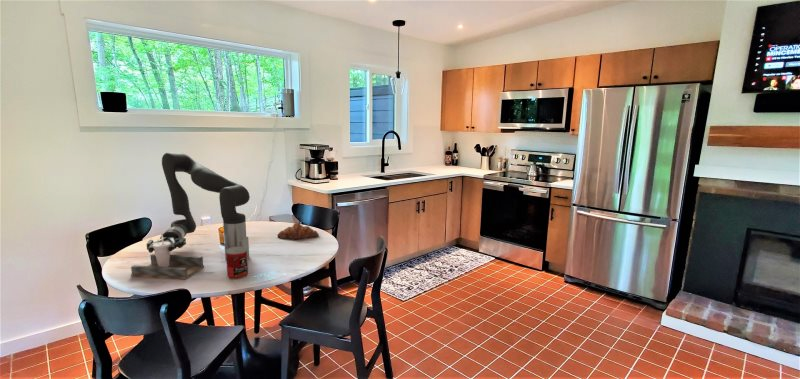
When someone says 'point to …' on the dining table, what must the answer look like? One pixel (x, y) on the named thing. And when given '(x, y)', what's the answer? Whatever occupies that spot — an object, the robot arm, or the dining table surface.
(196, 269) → the door track
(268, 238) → the dining table surface
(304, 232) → the pastry
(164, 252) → the smoothie
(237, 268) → the canned food
